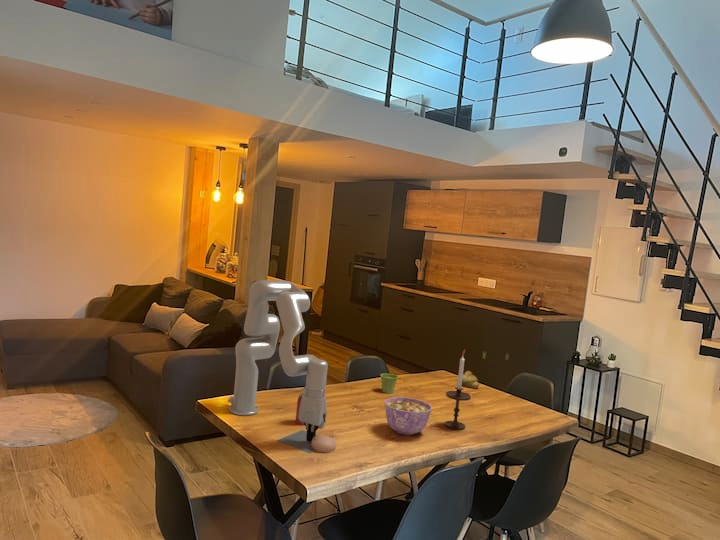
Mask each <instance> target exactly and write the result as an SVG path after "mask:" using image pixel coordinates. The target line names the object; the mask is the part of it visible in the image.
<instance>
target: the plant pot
mask: <svg viewBox="0 0 720 540" xmlns="http://www.w3.org/2000/svg"><path fill="white" fill-rule="evenodd" d="M398 378H399V375H396V374H393V373H380V379H381V392H383V393H385V394H392V393H394V392H395V391H394V390H395V387H396V384H397V381H398Z"/></svg>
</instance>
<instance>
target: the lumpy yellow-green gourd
mask: <svg viewBox="0 0 720 540" xmlns="http://www.w3.org/2000/svg"><path fill="white" fill-rule="evenodd" d="M462 386H464V387H466V388H471V389H478V388H479V386H480V384H479V380H478V378H477V377H476V375H474V374H473V372H472V371H471V370H467V371H465V372H464V373H463V378H462Z"/></svg>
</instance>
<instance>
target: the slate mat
mask: <svg viewBox="0 0 720 540" xmlns="http://www.w3.org/2000/svg"><path fill="white" fill-rule="evenodd" d="M306 435H307V430H304V429H301V430H299V431H297V432H293V433H291V434H289V435H286V436H284V437H281V438H279V439H277V440H275V441H276V442H278V443H281V444H284V445H287V446H289V447H292V448H295V449H297V450H299V451H303V452H306V453H307V454H311V453H313V452H316V451H315V450H313V449H312V448H311V444H312V441H311V442H309V441H306V438H307V437H306ZM315 436H320V435H318V434H316V435H315Z"/></svg>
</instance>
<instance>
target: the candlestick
mask: <svg viewBox="0 0 720 540" xmlns="http://www.w3.org/2000/svg"><path fill="white" fill-rule="evenodd" d="M465 353H466V349H464V350H463V351H462V353H461V355H462V356H461V358H460V359H459V365H458V366H459V368H458V377H457V385H456V387H454V389H455V390H448V391H446V393H445V396H446V397H447V398H449V399H452V400H455V408H453V412H454V413H453V417H454V418H453V420H446V421H445V422H444V426H445V427H446V428H448V429H450V430H453V431H454V430H455V431H463V430H465V429H466V425H465V423H463V422H460V421H458V417H459V416H460V415H459V413H460V411H461V409H460V408H459V407H460V406H459V405H460V402H462V401H463V402H464V401H470V400H472V398H471V397H472V396H471V395H470V394H469V393H466V392H464V388H462V386H463V385H462V378H463V374H464V367H465V360H466V359H465V358H464V355H465Z"/></svg>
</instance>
